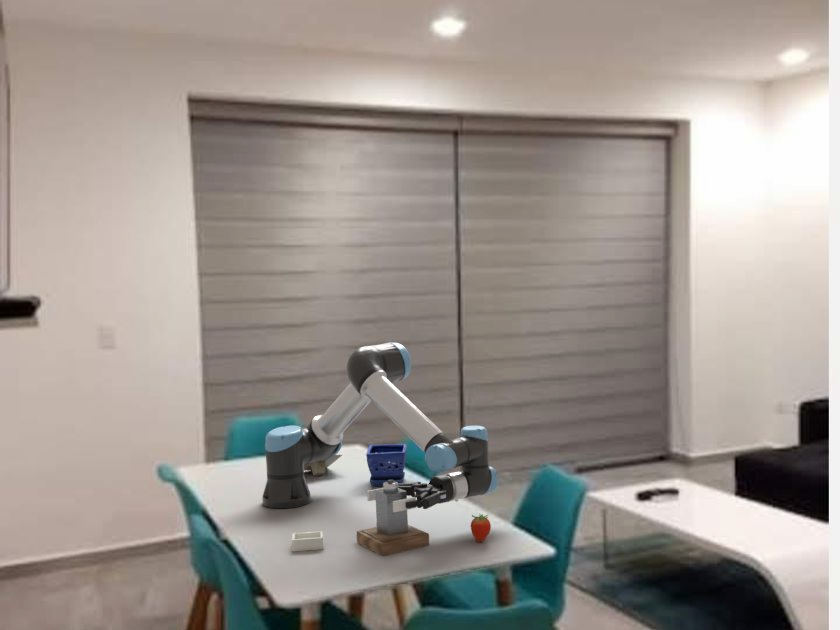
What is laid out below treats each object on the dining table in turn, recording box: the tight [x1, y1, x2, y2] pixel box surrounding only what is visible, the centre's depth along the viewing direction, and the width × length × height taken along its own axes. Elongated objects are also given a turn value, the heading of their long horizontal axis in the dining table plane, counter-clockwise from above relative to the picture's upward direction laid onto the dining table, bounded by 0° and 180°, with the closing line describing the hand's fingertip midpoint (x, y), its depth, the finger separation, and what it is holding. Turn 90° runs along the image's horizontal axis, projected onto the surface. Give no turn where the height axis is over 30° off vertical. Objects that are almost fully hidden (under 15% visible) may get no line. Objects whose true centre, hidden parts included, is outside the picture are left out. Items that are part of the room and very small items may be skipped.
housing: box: [375, 480, 409, 537], centre depth 234 cm, size 6×6×14 cm
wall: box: [304, 454, 343, 477], centre depth 314 cm, size 16×9×15 cm
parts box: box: [291, 530, 324, 552], centre depth 234 cm, size 8×6×3 cm
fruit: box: [470, 513, 492, 543], centre depth 233 cm, size 5×5×8 cm
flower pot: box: [365, 443, 408, 487], centre depth 299 cm, size 13×13×12 cm
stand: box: [356, 524, 430, 557], centre depth 234 cm, size 14×14×3 cm
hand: (380, 501), depth 232 cm, fingers open, 13 cm apart
